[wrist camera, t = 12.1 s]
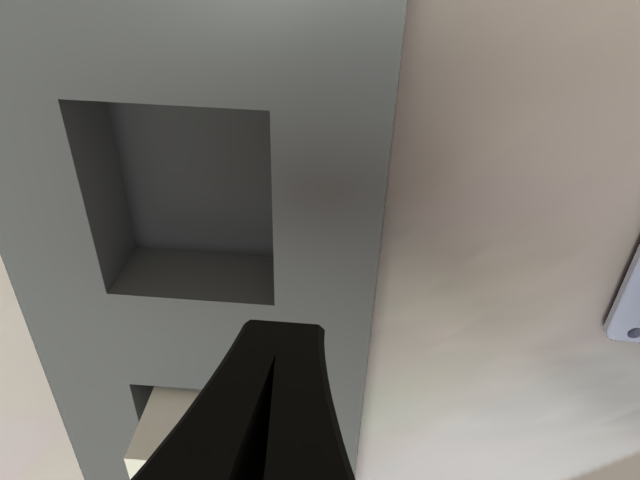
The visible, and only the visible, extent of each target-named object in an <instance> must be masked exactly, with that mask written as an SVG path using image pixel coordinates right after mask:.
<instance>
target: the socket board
mask: <svg viewBox="0 0 640 480" xmlns="http://www.w3.org/2000/svg"><path fill="white" fill-rule="evenodd" d="M406 9H407V0H0V255H1V257H2V260H3V263H4V265H5V268H6V271H7V273H8V276H9V279H10V281H11V284H12V287H13V289H14V292H15V295H16V297H17V300H18V303H19V305H20V308H21V311H22V313H23V316H24V319H25V321H26V324H27V327H28V329H29V332H30V335H31V337H32V340H33V343H34V345H35V348H36V351H37V354H38V356H39V359H40V362H41V364H42V367H43V370H44V372H45V375H46V378H47V380H48V383H49V386H50V388H51V391H52V394H53V396H54V399H55V402H56V404H57V407H58V410H59V412H60V415H61V418H62V420H63V423H64V426H65V428H66V431H67V434H68V436H69V439H70V442H71V444H72V447H73V450H74V452H75V455H76V458H77V460H78V463H79V466H80V469H81V471H82V474H83V477H84V479H85V480H130V478H129V475H128V471H127V468H126V464H125V461H124V457H125V454H126V452H127V450H128V447H129V445H130V443H131V440H132V438H133V435H134V433H135V431H136V428H137V426H138V424H139V421H140V419H141V416H142V414H143V412H144V409H145V407H146V405H147V402H148V400H149V398H150V395H151V393H152V390H153V388H154V386H160V387H173V388H186V389H198V390H202V389H203V388H204V386H205V385H206V383H207V382H208V381H209V379H210V378H211V376H212V375H213V373H214V372H215V370H216V369H217V367H218V366H219V364H220V363H221V361H222V360H223V358H224V357H225V355H226V354H227V352H228V351H229V349H230V347H231V346H232V344H233V342H234V341H235V339H236V337H237V336H238V334H239V332H240V330H241V328H242V327H243V325H244V323H246V322H247V321H249V320H250V319H251V320H265V321H279V322H293V323H306V324H319V325H320V326H321V327H322V328H323V329H324V330H325V337H324V347H325V359H326V367H327V373H328V379H329V384H330V390H331V394H332V399H333V404H334V407H335V411H336V415H337V419H338V423H339V427H340V431H341V434H342V438H343V442H344V445H345V448H346V452H347V455H348V458H349V461H350V464H351V468H352V471H353V474H354V477H355V470H356V461H357V452H358V443H359V434H360V425H361V416H362V407H363V398H364V389H365V380H366V371H367V362H368V353H369V344H370V335H371V326H372V317H373V307H374V298H375V289H376V280H377V271H378V262H379V253H380V244H381V235H382V226H383V217H384V208H385V199H386V190H387V181H388V172H389V163H390V154H391V145H392V136H393V127H394V118H395V108H396V99H397V90H398V81H399V72H400V63H401V54H402V45H403V36H404V27H405V18H406Z"/></svg>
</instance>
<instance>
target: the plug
mask: <svg viewBox="0 0 640 480" xmlns="http://www.w3.org/2000/svg"><path fill="white" fill-rule="evenodd" d="M200 392H201V390H198V389H186V388H173V387H160V386H154V388H153V390H152V393H151V395H150V398H149V400H148V402H147V405H146V407H145V409H144V412H143V414H142V416H141V419H140V421H139V424H138V426H137V428H136V431H135V433H134V435H133V438H132V440H131V443H130V445H129V447H128V450H127V452H126V454H125V457H124V461H125V464H126V468H127V471H128V475H129V478H130V479H131V478H132V477H133V476H134V475H135V474H136V473H137V471H138V470H139V469H140V468H141V467H142V466H143V465H144V463H145V462H146V461H147V460H148V459H149V457H150V456H151V455H152V454H153V452H154V451H155V450H156V449H157V447H158V446H159V445H160V444H161V443H162V441H163V440H164V439H165V438H166V436H167V435H168V434H169V433H170V431H171V430H172V429H173V428H174V427H175V425H176V424H177V423H178V422H179V420H180V419H181V418H182V416H183V415H184V414H185V412H186V411H187V410H188V408H189V407H190V405H191V404H192V403H193V401H194V400H195V399H196V397H197V396H198V394H199V393H200Z"/></svg>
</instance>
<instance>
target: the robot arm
mask: <svg viewBox="0 0 640 480" xmlns="http://www.w3.org/2000/svg"><path fill="white" fill-rule="evenodd" d="M633 328H636V329H634V330H632V331H629V330H631V329H633ZM604 330H605V333H606V334H607V336H608V338H610V339H611V340H615V341H626V342H640V244H639V246H638V249H637V251H636V253H635V255H634V258H633V260H632V262H631V265H630V267H629V269H628V271H627V274H626V276H625V278H624V281H623V283H622V285H621V287H620V290H619V292H618V294H617V297H616V299H615V301H614V303H613V306H612V308H611V310H610V313H609V315H608V317H607V319H606V322H605V324H604ZM324 337H325V330H324V329H323V328H322V327H321V326H320V325H319V324H306V323H293V322H279V321H265V320H251V319H250V320H249V321H247V322H246V323H244V325H243V327H242V328H241V330H240V332H239V334H238V336H237V337H236V339H235V341H234V342H233V344H232V346H231V347H230V349H229V351H228V352H227V354H226V355H225V357H224V358H223V360H222V361H221V363H220V364H219V366H218V367H217V369H216V370H215V372H214V373H213V375H212V376H211V378H210V379H209V381H208V382H207V383H206V385H205V386H204V388H203V389H202V390H201V392H200V393H199V394H198V396H197V397H196V399H195V400H194V401H193V403H192V404H191V405H190V407H189V408H188V410H187V411H186V412H185V414H184V415H183V416H182V418H181V419H180V420H179V422H178V423H177V424H176V425H175V427H174V428H173V429H172V430H171V431H170V433H169V434H168V435H167V436H166V438H165V439H164V440H163V441H162V443H161V444H160V445H159V446H158V447H157V449H156V450H155V451H154V452H153V454H152V455H151V456H150V457H149V459H148V460H147V461H146V462H145V463H144V465H143V466H142V467H141V468H140V469H139V470H138V471H137V473H136V474H135V475H134V476H133V477H132V478H131V479H130V480H355V477H354V474H353V471H352V468H351V464H350V461H349V458H348V455H347V452H346V448H345V445H344V442H343V438H342V434H341V431H340V427H339V423H338V419H337V415H336V411H335V407H334V404H333V399H332V394H331V390H330V384H329V379H328V373H327V367H326V359H325V347H324Z"/></svg>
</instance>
